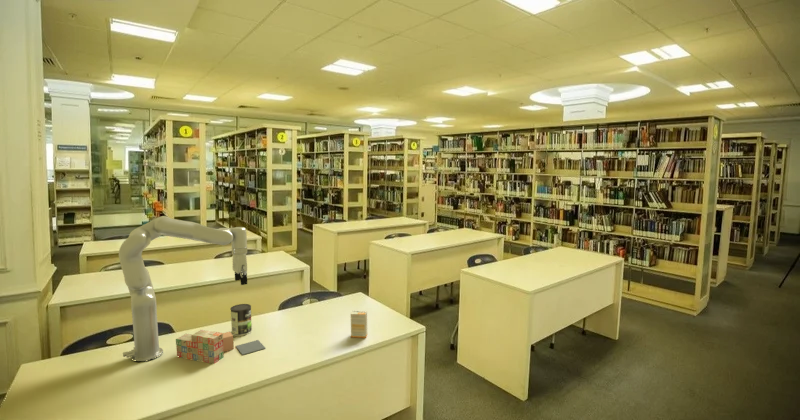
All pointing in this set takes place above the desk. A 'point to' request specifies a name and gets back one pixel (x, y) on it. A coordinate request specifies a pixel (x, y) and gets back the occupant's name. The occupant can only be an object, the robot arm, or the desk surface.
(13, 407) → the desk surface
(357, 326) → the supplement box
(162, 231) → the robot arm
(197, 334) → the stack of blocks
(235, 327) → the coffee can
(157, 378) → the desk surface
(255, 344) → the mat
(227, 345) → the tan cardboard-coloured cube
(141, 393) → the desk surface
